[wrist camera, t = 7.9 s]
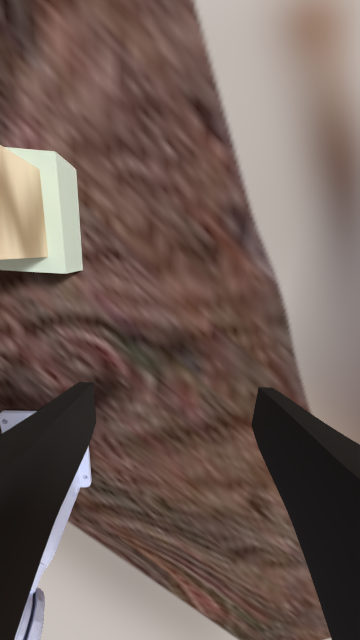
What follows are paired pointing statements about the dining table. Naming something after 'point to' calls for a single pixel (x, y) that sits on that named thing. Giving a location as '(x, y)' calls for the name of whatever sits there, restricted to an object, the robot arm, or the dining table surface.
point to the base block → (54, 215)
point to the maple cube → (21, 209)
